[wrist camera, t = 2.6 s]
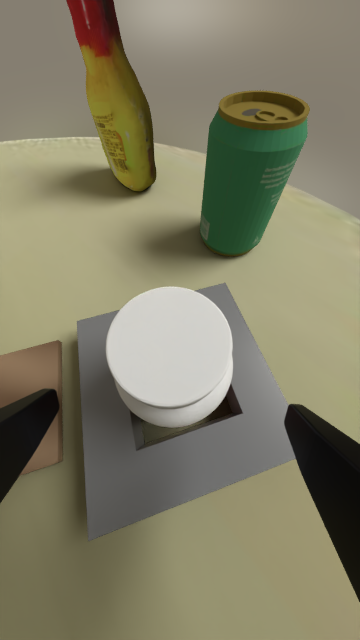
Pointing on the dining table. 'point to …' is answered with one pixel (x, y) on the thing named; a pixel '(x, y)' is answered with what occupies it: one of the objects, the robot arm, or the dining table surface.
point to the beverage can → (248, 166)
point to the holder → (182, 447)
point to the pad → (31, 376)
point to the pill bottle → (170, 356)
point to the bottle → (114, 94)
